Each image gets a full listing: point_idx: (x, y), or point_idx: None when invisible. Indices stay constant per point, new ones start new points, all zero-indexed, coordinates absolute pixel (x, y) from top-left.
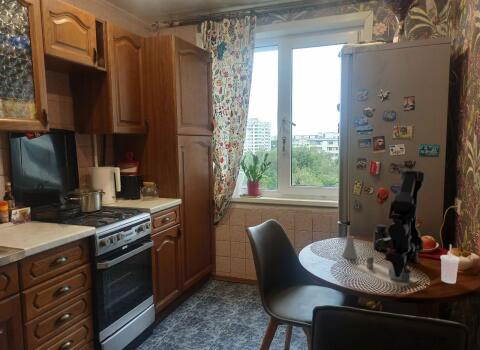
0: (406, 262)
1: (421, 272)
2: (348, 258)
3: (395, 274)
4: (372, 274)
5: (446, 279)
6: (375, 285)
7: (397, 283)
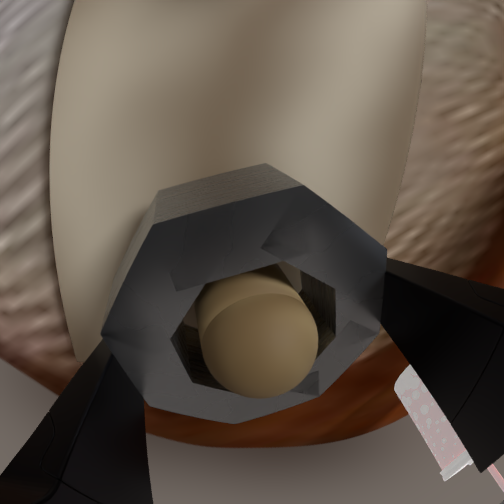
0: (425, 373)
1: (471, 257)
2: None
3: (97, 351)
4: (107, 6)
5: (403, 393)
6: None
7: None
